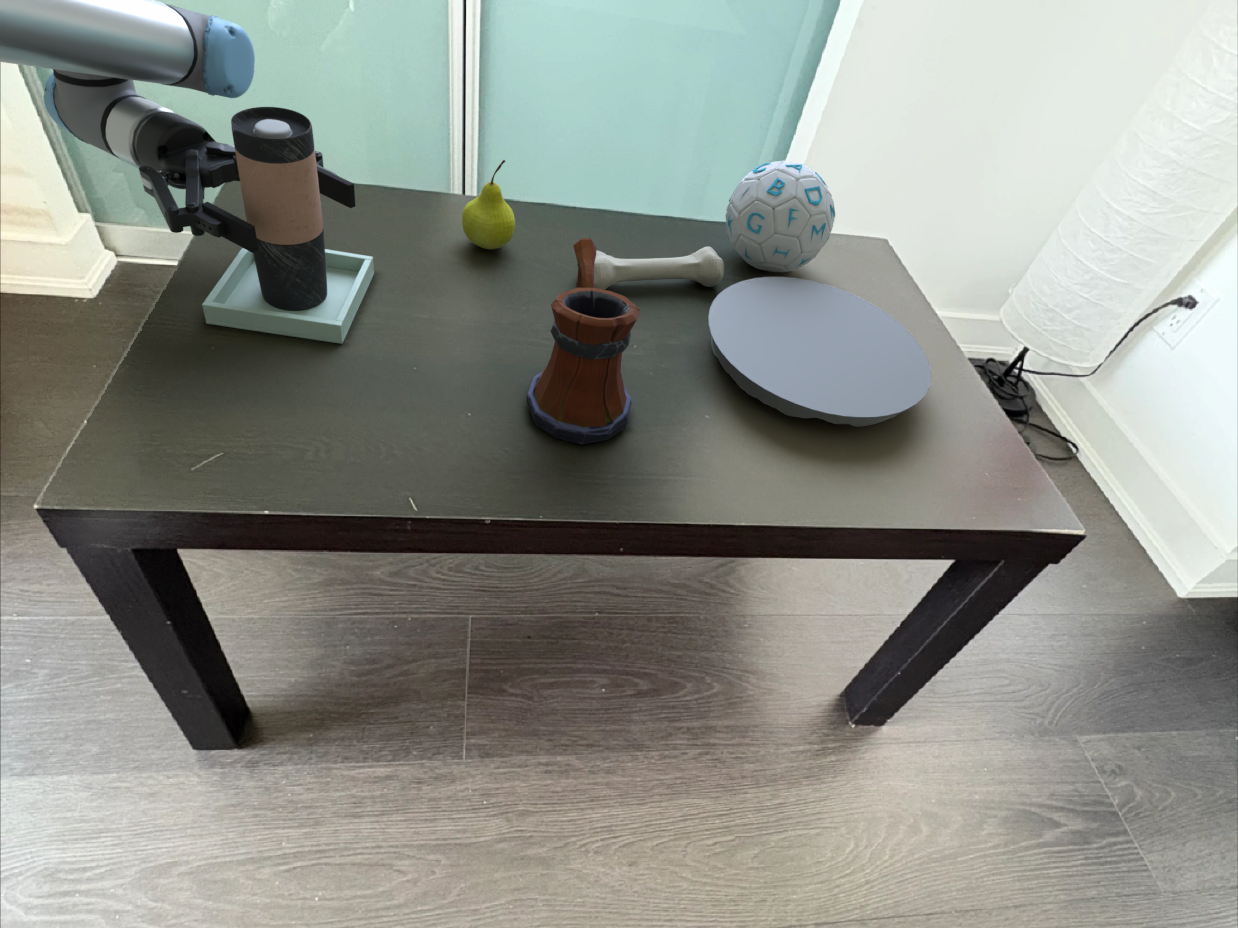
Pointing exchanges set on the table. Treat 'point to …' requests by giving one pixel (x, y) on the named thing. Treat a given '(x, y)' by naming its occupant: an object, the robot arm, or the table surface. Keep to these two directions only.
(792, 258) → the puzzle ball
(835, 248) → the table surface
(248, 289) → the tray
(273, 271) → the travel mug
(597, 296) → the mug
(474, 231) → the fruit
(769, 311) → the flat disc
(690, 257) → the dog toy
